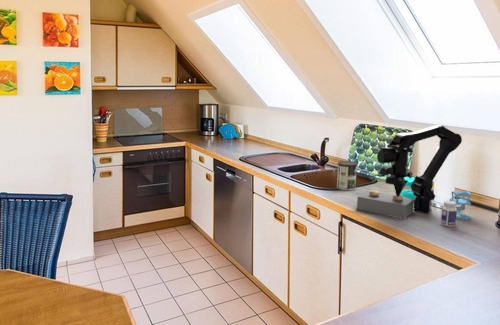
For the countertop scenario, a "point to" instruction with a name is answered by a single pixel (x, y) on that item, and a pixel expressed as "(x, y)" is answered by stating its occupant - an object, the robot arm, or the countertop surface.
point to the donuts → (408, 192)
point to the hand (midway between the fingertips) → (397, 195)
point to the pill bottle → (449, 214)
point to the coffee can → (346, 175)
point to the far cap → (374, 193)
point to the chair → (461, 202)
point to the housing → (385, 205)
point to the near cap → (397, 198)
